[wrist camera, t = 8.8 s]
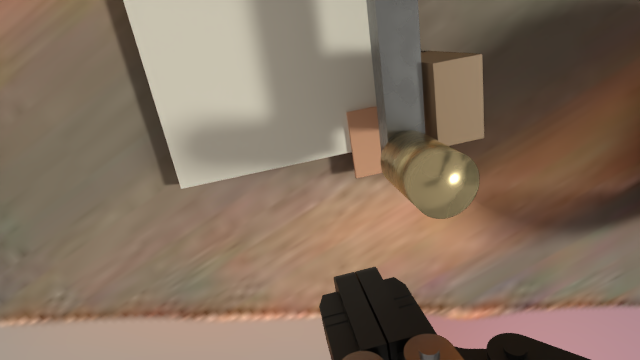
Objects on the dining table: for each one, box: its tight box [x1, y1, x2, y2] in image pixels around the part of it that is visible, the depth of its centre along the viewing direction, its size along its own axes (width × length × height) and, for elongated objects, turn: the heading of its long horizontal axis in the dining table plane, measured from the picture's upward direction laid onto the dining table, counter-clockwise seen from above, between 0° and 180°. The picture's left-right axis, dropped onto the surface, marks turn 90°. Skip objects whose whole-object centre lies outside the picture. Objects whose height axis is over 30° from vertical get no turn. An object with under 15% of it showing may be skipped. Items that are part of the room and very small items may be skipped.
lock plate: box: [123, 0, 484, 189], centre depth 25 cm, size 20×19×7 cm
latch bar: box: [366, 0, 479, 219], centre depth 21 cm, size 17×4×7 cm, turn 8°
